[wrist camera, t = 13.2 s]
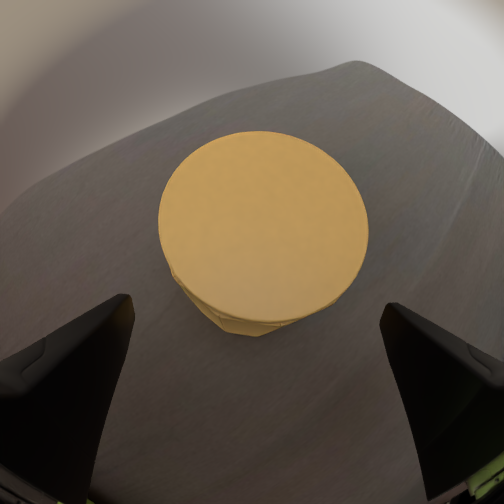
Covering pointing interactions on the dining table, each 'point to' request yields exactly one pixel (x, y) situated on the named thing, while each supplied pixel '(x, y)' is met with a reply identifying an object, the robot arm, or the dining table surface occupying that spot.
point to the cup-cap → (262, 230)
